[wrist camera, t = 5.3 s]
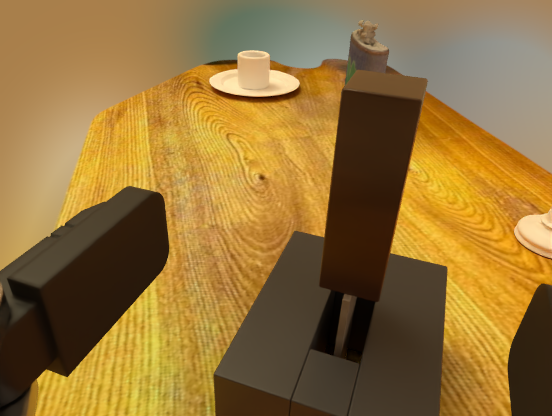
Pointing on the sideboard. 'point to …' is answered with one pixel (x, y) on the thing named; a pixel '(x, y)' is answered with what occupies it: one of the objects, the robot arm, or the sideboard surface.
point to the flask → (366, 51)
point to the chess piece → (536, 233)
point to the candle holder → (254, 77)
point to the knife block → (322, 329)
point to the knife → (367, 186)
